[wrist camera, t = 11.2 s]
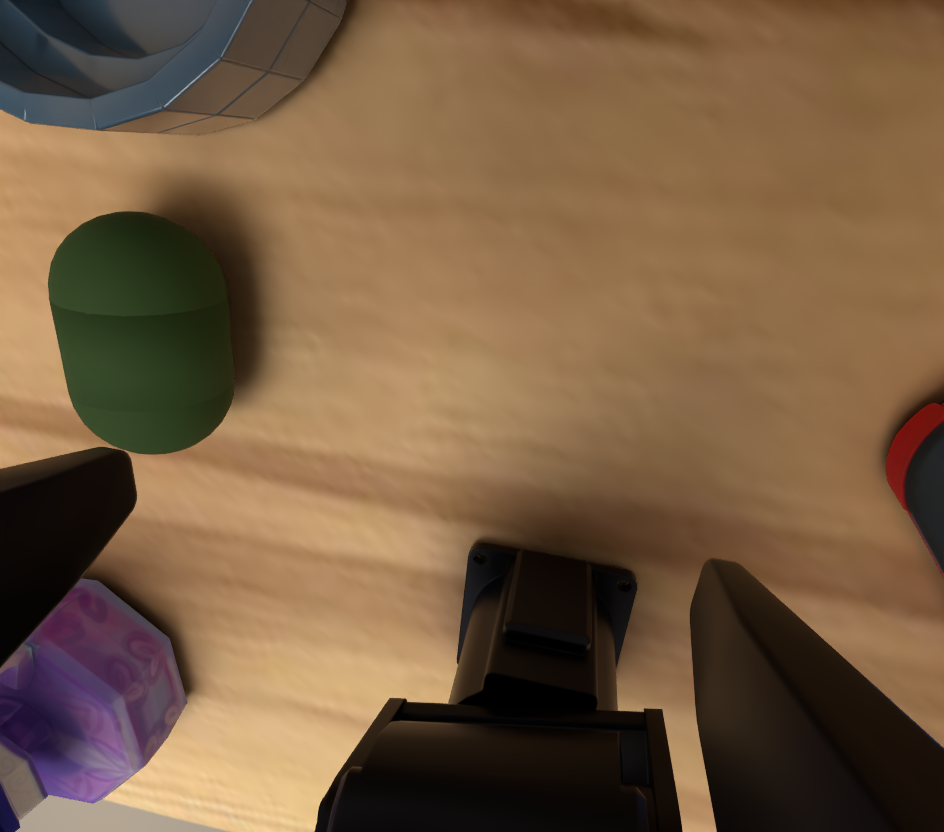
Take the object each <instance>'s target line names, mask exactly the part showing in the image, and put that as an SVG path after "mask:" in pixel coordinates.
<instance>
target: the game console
mask: <svg viewBox="0 0 944 832" xmlns="http://www.w3.org/2000/svg"><path fill="white" fill-rule="evenodd" d="M886 473H887V479H888V483H889V485H890V487H891V489H892V490H893V492H894V493H895V495H896V496H897V498H898V500H899V502H900V503H901V505H902V507H903V508H904V509H905V510H906V511H907V512H908V514H909V516H910V517H911V519H912V521H913V523H914V525H915V527H916V528H917V530H918V532H919V534H920V536H921V537H922V539H923V541H924V543H925V545H926V547H927V548H928V550H929V552H930V554H931V556H932V557H933V559H934V561H935V563H936V565H937V567H938V569H939V570H940V572H941V574H942V576H943V578H944V401H942V402H940V403H938V404H937V403H931V404H929V405H927V406H925V407H924V408H923V409H921V410H920V411H919V412H917V413H916V414H915V415H914V416H913V417H912V418H911V419H910V420H909V421H907V423H906V424H905V425H904V426H903V427H902V429H901V430H900V431H899V432H898V434H897V435H896V436H895V438H894V440H893V442H892V445H891V447H890V450H889V453H888V457H887V464H886Z"/></svg>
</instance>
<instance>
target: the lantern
mask: <svg viewBox="0 0 944 832" xmlns="http://www.w3.org/2000/svg"><path fill="white" fill-rule="evenodd" d="M186 704H187V700H186V697H185V693H184V689H183V686H182V682H181V678H180V675H179V671H178V668H177V664H176V660H175V657H174V653H173V649H172V646H171V642H170V638H168V637H167V636H166V635H165V634H163V633H162V632H161V631H160V630H158V629H157V628H156V627H155V626H153V625H152V624H151V623H150V622H149V621H147V620H146V619H145V618H144V617H142V616H141V615H140V614H139V613H137V612H136V611H135V610H134V609H132V608H131V607H130V606H129V605H128V604H126V603H125V602H124V601H123V600H121V599H120V598H119V597H118V596H116V595H115V594H114V593H113V592H111V591H110V590H109V589H108V588H107V587H105V586H104V585H103V584H102V583H100V582H99V581H97V580H89V579H82V578H81V579H80V580H79V582H78V583H77V584H76V585H75V587H74V588H73V589H72V590H71V591H70V592H69V594H68V595H67V596H66V597H65V598H64V599H63V600H62V601H61V603H60V604H59V605H58V606H57V607H56V608H55V609H54V610H53V611H52V612H51V613H50V615H49V616H48V617H47V618H46V619H45V620H44V621H43V622H42V623H41V624H40V626H39V627H38V628H37V629H36V630H35V631H34V632H33V633H32V634H31V635H30V636H29V638H28V639H27V640H26V641H25V642H24V643H23V644H22V645H21V646H20V647H19V649H18V650H17V651H16V652H15V653H14V654H13V655H12V656H11V657H10V658H9V659H8V661H7V662H6V663H5V664H4V665H3V666H2V667H1V668H0V832H15V831H16V830H18V829H19V828H20V824H19V820H20V819H22V818H23V817H24V816H25V815H26V814H27V813H29V812H30V811H31V810H32V809H33V808H34V807H36V806H37V805H38V804H39V803H40V802H42V801H43V800H44V799H45V798H46V797H47V796H48V795H53V796H58V797H63V798H68V799H73V800H78V801H83V802H88V803H95V802H97V801H99V800H101V799H103V798H105V797H106V796H107V795H108V794H110V793H111V792H112V791H113V790H115V789H116V788H117V787H119V786H120V785H121V784H122V783H124V782H125V781H126V780H128V779H129V778H130V777H131V776H133V775H134V774H135V773H137V772H138V771H139V770H140V769H142V768H143V767H144V766H145V765H146V764H147V763H148V762H149V760H150V759H151V758H152V757H153V755H154V754H155V753H156V751H157V750H158V749H159V748H160V746H161V745H162V744H163V743H164V741H165V740H166V739H167V737H168V736H169V734H170V732H171V730H172V729H173V727H174V725H175V723H176V721H177V720H178V718H179V716H180V714H181V713H182V711H183V709H184V707H185V705H186Z"/></svg>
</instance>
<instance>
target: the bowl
mask: <svg viewBox="0 0 944 832" xmlns="http://www.w3.org/2000/svg"><path fill="white" fill-rule="evenodd" d="M346 3H347V0H0V110H2V111H4V112H6V113H9V114H11V115H13V116H15V117H17V118H19V119H21V120H23V121H25V122H28V123H31V124H40V125H50V126H59V127H68V128H77V129H87V130H96V131H116V132H137V133H158V134H179V135H205V134H209V133H212V132H216V131H219V130H222V129H226V128H229V127H233V126H236V125H240V124H243V123H247V122H250V121H253V120H255V119H256V118H258V117H260V116H261V115H262V114H263V113H265V112H266V111H267V110H268V109H270V108H271V107H272V106H273V105H275V104H276V103H277V102H278V101H280V100H281V99H282V98H283V97H285V96H286V95H287V94H288V93H290V92H291V91H292V90H293V89H295V88H296V87H297V86H298V85H300V84H301V83H302V82H303V80H305V79H306V78H307V76H308V74H309V73H310V71H311V69H312V68H313V66H314V65H315V63H316V61H317V60H318V58H319V56H320V55H321V53H322V52H323V50H324V48H325V47H326V45H327V43H328V42H329V40H330V39H331V37H332V35H333V34H334V32H335V30H336V29H337V27H338V26H339V24H340V22H341V18H342V17H343V14H344V11H345V7H346Z"/></svg>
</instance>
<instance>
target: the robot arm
mask: <svg viewBox="0 0 944 832" xmlns="http://www.w3.org/2000/svg"><path fill="white" fill-rule="evenodd" d="M136 501H137V491H136V485H135V479H134V473H133V467H132V461H131V458H130V456H129V455H128V453H126V452H125V451H123V450H118V449H112V448H107V447H96V448H92V449H88V450H83V451H79V452H74V453H70V454H65V455H61V456H56V457H52V458H47V459H43V460H38V461H34V462H29V463H25V464H20V465H16V466H11V467H7V468H2V469H0V668H1V667H2V666H3V665H4V664H5V663H6V662H7V661H8V659H9V658H10V657H11V656H12V655H13V654H14V653H15V652H16V651H17V650H18V649H19V647H20V646H21V645H22V644H23V643H24V642H25V641H26V640H27V639H28V638H29V636H30V635H31V634H32V633H33V632H34V631H35V630H36V629H37V628H38V627H39V626H40V624H41V623H42V622H43V621H44V620H45V619H46V618H47V617H48V616H49V615H50V613H51V612H52V611H53V610H54V609H55V608H56V607H57V606H58V605H59V604H60V603H61V601H62V600H63V599H64V598H65V597H66V596H67V595H68V594H69V592H70V591H71V590H72V589H73V588H74V587H75V585H76V584H77V583H78V582H79V580H80V579H81V578H82V577H83V575H84V574H85V573H86V572H87V570H88V569H89V568H90V566H91V565H92V564H93V562H94V561H95V560H96V558H97V557H98V556H99V554H100V553H101V552H102V550H103V549H104V548H105V546H106V545H107V544H108V542H109V541H110V540H111V539H112V537H113V536H114V535H115V533H116V532H117V531H118V529H119V528H120V527H121V525H122V524H123V523H124V521H125V520H126V519H127V517H128V516H129V515H130V513H131V512H132V511H133V509H134V507H135V504H136ZM477 554H483V555H485V556H486V558H480V557H478V556H477ZM621 581H626V582H629V583H628V584H626V585H621V584H619V582H621ZM636 591H637V578H636V576H635V574H634V573H633V572H631V571H629V570H627V569H622V568H617V567H611V566H606V565H601V564H595V563H590V562H586V561H583V560H577V559H572V558H567V557H561V556H556V555H550V554H545V553H540V552H534V551H529V550H521V549H515V548H510V547H505V546H499V545H494V544H489V543H480V542H479V543H476V544H474V545H473V546H472V547H471V549H470V552H469V556H468V563H467V572H466V581H465V590H464V599H463V608H462V617H461V626H460V635H459V644H458V653H457V664H458V667H457V671H456V675H455V679H454V683H453V687H452V691H451V695H450V698H449V702H448V704H443V703H419V702H407V700H406V699H401V698H390V699H389V700H388V701H387V703H386V704H385V706H384V707H383V709H382V710H381V711H380V713H379V714H378V716H377V717H376V719H375V720H374V722H373V723H372V725H371V726H370V728H369V729H368V730H367V732H366V733H365V735H364V736H363V738H362V739H361V741H360V742H359V744H358V745H357V747H356V748H355V749H354V751H353V752H352V754H351V755H350V757H349V758H348V760H347V761H346V763H345V764H344V766H343V767H342V768H341V770H340V771H339V773H338V774H337V776H336V777H335V779H334V781H333V783H332V784H331V786H330V788H329V790H328V792H327V793H326V795H325V796H324V798H323V799H322V801H321V803H320V806H319V810H318V818H317V824H316V829H315V832H682V824H681V817H680V811H679V804H678V798H677V792H676V787H675V781H674V775H673V769H672V763H671V758H670V752H669V746H668V740H667V734H666V729H665V723H664V717H663V711H662V709H646V708H644V712H633V711H618V705H617V685H616V667H617V663H618V659H619V655H620V652H621V648H622V644H623V640H624V637H625V633H626V629H627V625H628V622H629V618H630V614H631V610H632V607H633V603H634V599H635V595H636ZM690 629H691V645H692V660H693V675H694V691H695V705H696V716H697V724H698V731H699V737H700V742H701V748H702V753H703V759H704V764H705V769H706V775H707V780H708V786H709V791H710V796H711V802H712V807H713V813H714V818H715V823H716V829H717V832H944V748H943V747H942V746H941V745H940V744H939V743H937V742H936V741H935V740H934V739H933V738H932V737H931V736H930V735H929V734H927V733H926V732H925V731H924V730H923V729H922V728H921V727H920V726H919V725H917V724H916V723H915V722H914V721H913V720H912V719H911V718H910V717H909V716H908V715H906V714H905V713H904V712H903V711H902V710H901V709H900V708H899V707H898V706H896V705H895V704H894V703H893V702H892V701H891V700H890V699H889V698H888V697H886V696H885V695H884V694H883V693H882V692H881V691H880V690H879V689H878V688H877V687H875V686H874V685H873V684H872V683H871V682H870V681H869V680H868V679H867V678H865V677H864V676H863V675H862V674H861V673H860V672H859V671H858V670H857V669H855V668H854V667H853V666H852V665H851V664H850V663H849V662H848V661H847V660H846V659H844V658H843V657H842V656H841V655H840V654H839V653H838V652H837V651H836V650H834V649H833V648H832V647H831V646H830V645H829V644H828V643H827V642H826V641H824V640H823V639H822V638H821V637H820V636H819V635H818V634H817V633H816V632H815V631H813V630H812V629H811V628H810V627H809V626H808V625H807V624H806V623H805V622H803V621H802V620H801V619H800V618H799V617H798V616H797V615H796V614H795V613H793V612H792V611H791V610H790V609H789V608H788V607H787V606H786V605H785V604H784V603H782V602H781V601H780V600H779V599H778V598H777V597H776V596H775V595H774V594H772V593H771V592H770V591H769V590H768V589H767V588H766V587H765V586H764V585H762V584H761V583H760V582H759V581H758V580H757V579H756V578H755V577H754V576H753V575H751V574H750V573H749V572H748V571H747V570H746V569H745V568H744V567H743V566H741V565H740V564H739V563H737V562H733V561H727V560H721V559H716V558H710V559H708V560H707V561H706V562H705V563H704V565H703V568H702V571H701V574H700V578H699V581H698V584H697V587H696V590H695V593H694V596H693V599H692V603H691V608H690Z"/></svg>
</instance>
